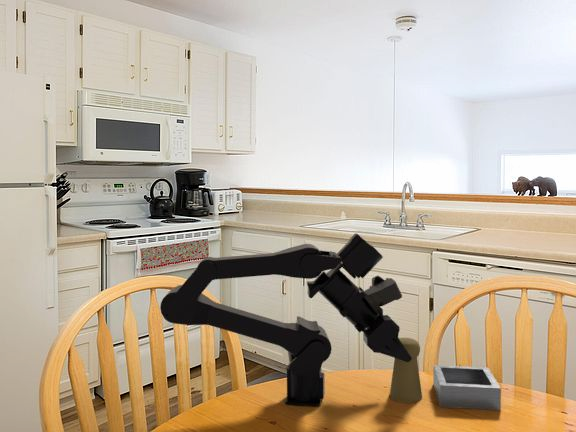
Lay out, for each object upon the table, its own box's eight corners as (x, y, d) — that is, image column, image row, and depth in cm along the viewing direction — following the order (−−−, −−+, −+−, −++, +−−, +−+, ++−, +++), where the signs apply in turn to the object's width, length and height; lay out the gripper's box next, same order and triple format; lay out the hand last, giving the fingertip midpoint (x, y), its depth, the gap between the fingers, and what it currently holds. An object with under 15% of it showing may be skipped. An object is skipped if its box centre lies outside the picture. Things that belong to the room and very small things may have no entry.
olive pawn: (423, 403, 95) (423, 344, 94) (389, 401, 96) (389, 343, 95) (421, 390, 101) (421, 335, 100) (389, 388, 102) (389, 333, 101)
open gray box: (440, 406, 93) (440, 385, 93) (433, 384, 103) (433, 365, 103) (500, 410, 91) (500, 388, 91) (487, 387, 102) (487, 367, 101)
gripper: (386, 274, 87) (450, 336, 88) (365, 258, 106) (418, 309, 107) (341, 321, 87) (405, 382, 88) (327, 296, 106) (380, 347, 107)
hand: (403, 352), depth 98 cm, fingers open, 9 cm apart
